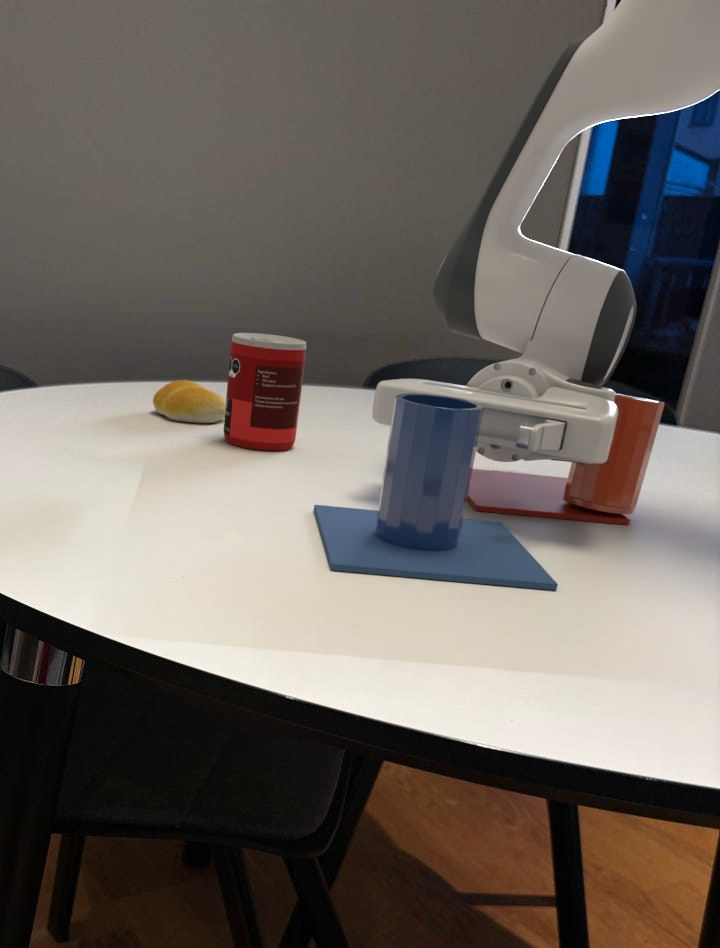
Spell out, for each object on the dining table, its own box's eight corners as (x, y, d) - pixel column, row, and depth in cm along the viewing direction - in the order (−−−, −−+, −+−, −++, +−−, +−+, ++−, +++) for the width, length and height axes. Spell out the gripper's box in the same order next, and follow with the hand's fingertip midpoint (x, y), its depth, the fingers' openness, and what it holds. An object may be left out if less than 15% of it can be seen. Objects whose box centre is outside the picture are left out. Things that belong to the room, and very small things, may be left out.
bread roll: (178, 425, 114) (181, 389, 113) (143, 409, 121) (145, 375, 120) (240, 424, 118) (244, 389, 117) (203, 409, 125) (205, 376, 124)
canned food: (244, 432, 114) (254, 331, 110) (307, 445, 111) (320, 341, 106) (208, 441, 108) (217, 334, 104) (274, 455, 104) (286, 345, 100)
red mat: (573, 483, 106) (574, 478, 106) (628, 525, 91) (630, 519, 91) (441, 470, 105) (442, 465, 105) (475, 510, 91) (476, 505, 90)
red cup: (618, 504, 97) (647, 398, 94) (644, 518, 91) (676, 405, 88) (553, 494, 96) (580, 388, 93) (575, 507, 90) (605, 394, 87)
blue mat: (500, 527, 86) (501, 521, 86) (556, 590, 71) (558, 584, 71) (313, 510, 85) (314, 504, 85) (330, 570, 70) (331, 563, 70)
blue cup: (451, 530, 81) (475, 399, 77) (463, 554, 75) (490, 413, 72) (371, 522, 81) (391, 390, 77) (378, 545, 76) (400, 403, 72)
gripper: (407, 358, 94) (351, 367, 83) (635, 392, 86) (607, 408, 74) (397, 425, 97) (340, 444, 85) (617, 465, 88) (587, 492, 77)
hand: (467, 428), depth 80 cm, fingers open, 8 cm apart
